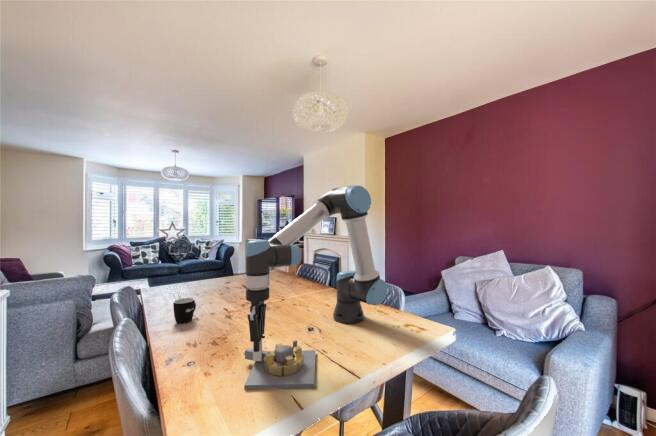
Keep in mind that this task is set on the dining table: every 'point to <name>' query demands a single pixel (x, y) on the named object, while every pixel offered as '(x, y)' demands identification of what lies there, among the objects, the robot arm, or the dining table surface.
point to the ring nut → (279, 369)
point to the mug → (184, 310)
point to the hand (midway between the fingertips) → (257, 359)
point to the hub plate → (296, 380)
